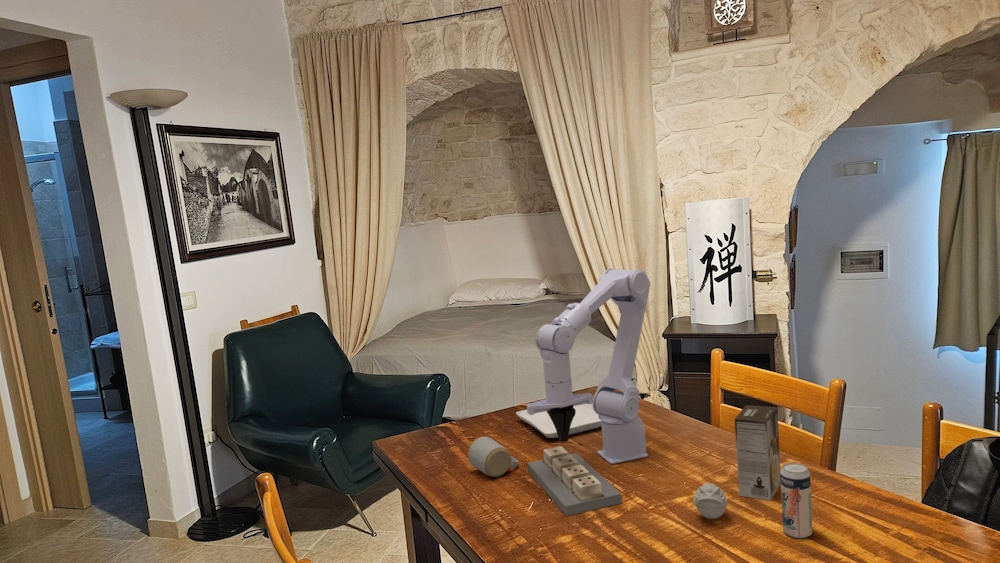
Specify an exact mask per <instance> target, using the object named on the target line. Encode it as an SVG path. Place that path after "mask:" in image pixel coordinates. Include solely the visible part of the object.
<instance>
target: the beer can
mask: <svg viewBox="0 0 1000 563" xmlns="http://www.w3.org/2000/svg"><path fill="white" fill-rule="evenodd" d="M780 478H781V483H780V494H781V495H780V496H781V500H780V501H781V516H782V517H781V519H782V520H781V521H782V531H783V533H784V534H786V535H788V536H789V537H791V538H793V539H794V538H795V539H805V538H808V537H810V536H812V534H813V533H814V532H813V512H812V509H813V508H812V487H811V486H812V485H811V484H812V483H811V472H810V470H809V469H808V467H807V466H806V465H804V464H801V463H796V462H795V463H794V462H793V463H792V462H791V463H790V462H789V463H785V464H783V466H782V468H781V469H780Z"/></svg>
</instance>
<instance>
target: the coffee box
mask: <svg viewBox="0 0 1000 563" xmlns="http://www.w3.org/2000/svg"><path fill="white" fill-rule="evenodd" d="M778 416H779V414H778V407H776V406H763V405H751V404H749V405H747V404H746V405H744V406H743V408H742V409H741V411H740V412H739V413H738V414H737V416H736V417H735V418H734V429H735V443H736V444H735V446H736V462H737V466H736V467H737V479H738V480H737V481H738V482H737V483H738V496H740V497H744V498H750V499H751V498H752V499H759V500H764V501H772V500H773V498H775V495H776V493H777V491H778V488H779V487H780V486H781V478H780V471H781V458H780V457H781V456H780V439H779V435H780V433H779V418H778Z"/></svg>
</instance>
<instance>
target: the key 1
mask: <svg viewBox="0 0 1000 563" xmlns="http://www.w3.org/2000/svg"><path fill="white" fill-rule="evenodd" d="M542 451H543V460H544V463H545V464H546V465H547V466H548V467H549V469H552V468H553V463H552V459H554V458H559V457H564V456H568V455H569V452H568V451H567V450H566V449H565V448H564V447H563V446H562V445H561V446H555V447H549V448H546V449H543V450H542Z"/></svg>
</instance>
